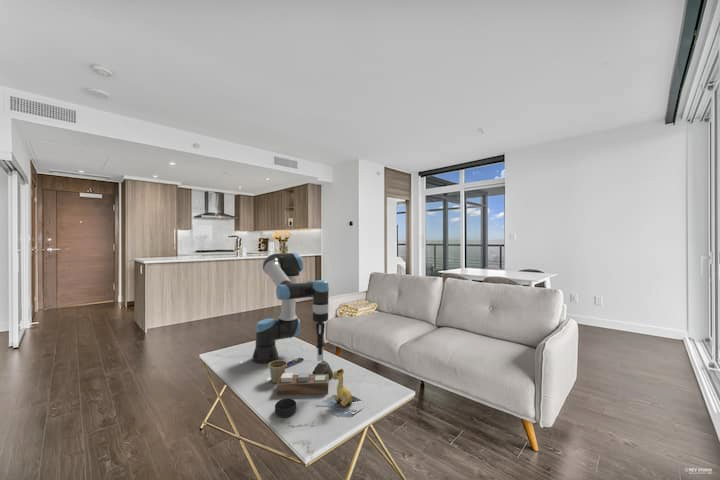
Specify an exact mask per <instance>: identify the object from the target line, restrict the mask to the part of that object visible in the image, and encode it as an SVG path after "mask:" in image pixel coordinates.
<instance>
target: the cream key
mask: <svg viewBox="0 0 720 480" xmlns="http://www.w3.org/2000/svg"><path fill="white" fill-rule="evenodd" d="M293 375H294V373H293V372H285V373H283V374H282V377H281V382H292V380H293Z"/></svg>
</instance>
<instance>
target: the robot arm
mask: <svg viewBox="0 0 720 480" xmlns="http://www.w3.org/2000/svg"><path fill="white" fill-rule="evenodd" d="M262 269H263V272H264V273H265V274H266V275H267V276H269V277H270V279H271V281H272V282H273V284H274V285H275V287H276V288H275V295H276V298H277V300H279V301H281V309H280V311H281V312H280V313H281V314H279V316H278V320H276V319H275V318H272V317H270V318H264V319H262V320H261V319H260V320H259V321H257V322H256V324H255V331H254V332H255V346H254V347H255V348H254V351H253V354H252V357H251V358H252V359H251V360H252V362H254V363H256V364H269V363H270V362H272V361H276V360H279V352H278V349H277V344H276V341H278V340H285V339H292V338H296V337H297V336H298V335H299V334H300V330H301V320H300V319H299V317H298V316H297V314H296V300H297V299H306V298H312V305H311V308H312V312H313V313H312V321H313V322H317V323H316V326H315V329H316V335H317V339H316V340H317V342H316V343H317V345H316V346H315V349H317V351H316V353H317V355H316V356H317V357H316V359H317V360H316V361H317V362H320V361H321V362H322V361H324V347H325V344H324V332H325V325H326V324H325V322H327V321H329V289H330V288H329V282H328V281H327V280H325V279H323V280H322V279H319V280H314V281H311V280H310V281H307V282H297V281H298V280H297V278H298V277H299V276H300V273H301V272H302V271H304V262H303V259H302V256H301V255H300V253H296V252H295V253H293V252H290V253H289V252H287V253H272V254H270V255H269V256H267V257H266V258H264V261H263V263H262Z"/></svg>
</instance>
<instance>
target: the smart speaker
mask: <svg viewBox="0 0 720 480" xmlns="http://www.w3.org/2000/svg"><path fill="white" fill-rule="evenodd" d="M296 411H297V401H296V400H294V399H292V398H283V399H280V400H277V402H276V403H275V404H274V414H275V415H276V416H277V417H279V418H288V417H291V416H293V415H294V414H295V413H296Z"/></svg>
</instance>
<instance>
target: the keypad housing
mask: <svg viewBox="0 0 720 480" xmlns="http://www.w3.org/2000/svg"><path fill="white" fill-rule="evenodd" d="M318 375H326V381H315V376H318ZM298 376H299V374H293V380H292V382H281V377H282V375H281V376H280V378H279V381H278V382H276V396H285V395H286V396H288V395H290V396H291V395H292V396H293V395H294V396H295V395H322V394H323V395H325V394H329V388H330V387H329V385H330V383H329V381H330V379H329V374H312V373H311V374H310V373H309V381H308V382H298Z"/></svg>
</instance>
